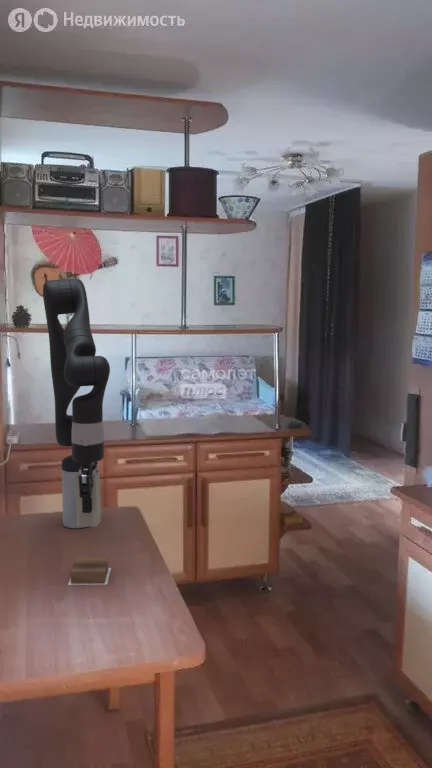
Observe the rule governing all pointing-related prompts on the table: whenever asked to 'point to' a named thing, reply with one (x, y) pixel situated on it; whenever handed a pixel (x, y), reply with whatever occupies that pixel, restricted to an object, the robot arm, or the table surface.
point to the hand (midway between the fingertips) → (88, 508)
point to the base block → (89, 570)
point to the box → (95, 515)
